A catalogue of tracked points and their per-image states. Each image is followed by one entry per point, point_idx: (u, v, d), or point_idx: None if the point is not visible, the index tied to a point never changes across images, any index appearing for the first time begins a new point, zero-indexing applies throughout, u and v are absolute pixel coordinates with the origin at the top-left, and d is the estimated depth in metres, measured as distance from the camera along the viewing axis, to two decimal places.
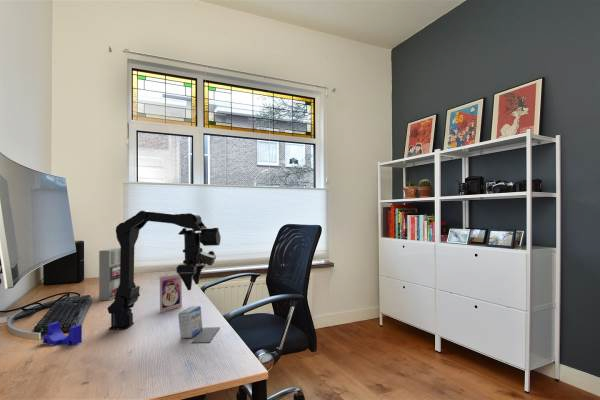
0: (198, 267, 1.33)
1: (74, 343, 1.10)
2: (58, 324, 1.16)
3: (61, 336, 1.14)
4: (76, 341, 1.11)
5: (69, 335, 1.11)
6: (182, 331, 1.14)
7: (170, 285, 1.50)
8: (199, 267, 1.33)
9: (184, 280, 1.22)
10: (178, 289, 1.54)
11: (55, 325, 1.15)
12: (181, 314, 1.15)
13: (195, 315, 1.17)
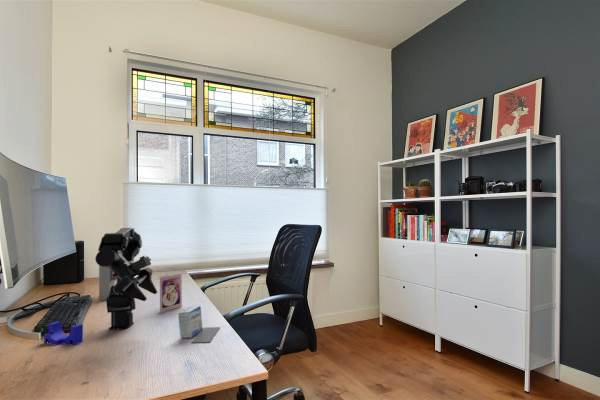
0: (145, 279, 1.23)
1: (75, 342, 1.11)
2: (59, 324, 1.16)
3: (62, 336, 1.14)
4: (77, 340, 1.12)
5: (70, 334, 1.11)
6: (182, 331, 1.14)
7: (170, 285, 1.50)
8: (146, 278, 1.23)
9: (133, 295, 1.13)
10: (178, 289, 1.54)
11: (56, 324, 1.15)
12: (181, 314, 1.15)
13: (195, 315, 1.17)
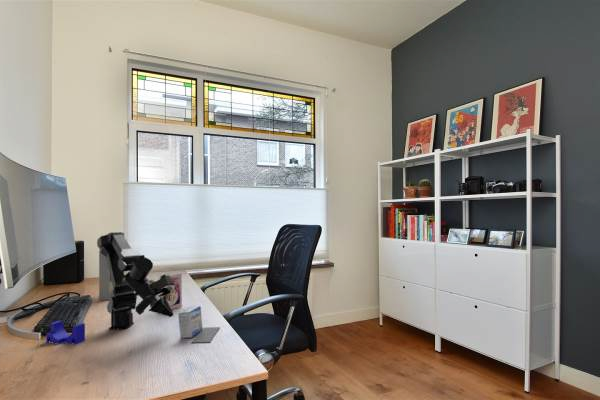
0: None
1: (77, 341, 1.12)
2: (61, 323, 1.17)
3: (64, 335, 1.15)
4: (79, 339, 1.12)
5: (72, 333, 1.12)
6: (182, 331, 1.14)
7: (170, 285, 1.50)
8: None
9: (160, 311, 1.16)
10: (178, 289, 1.54)
11: (58, 323, 1.16)
12: (181, 314, 1.15)
13: (195, 315, 1.17)
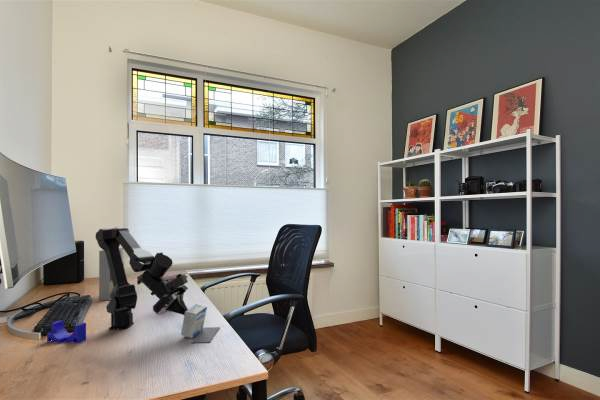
0: None
1: (79, 341, 1.12)
2: (62, 323, 1.18)
3: (65, 334, 1.16)
4: (81, 339, 1.13)
5: (74, 333, 1.13)
6: (184, 330, 1.14)
7: None
8: None
9: (176, 311, 1.16)
10: None
11: (59, 323, 1.17)
12: (187, 313, 1.14)
13: (200, 316, 1.17)
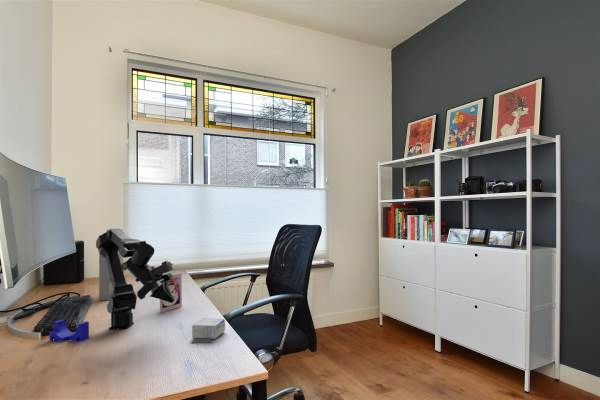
0: None
1: (82, 339, 1.14)
2: (64, 322, 1.19)
3: (67, 333, 1.17)
4: (84, 337, 1.14)
5: (77, 332, 1.14)
6: (197, 328, 1.13)
7: (170, 285, 1.50)
8: None
9: (161, 297, 1.17)
10: (178, 289, 1.54)
11: (61, 322, 1.18)
12: (213, 329, 1.12)
13: None
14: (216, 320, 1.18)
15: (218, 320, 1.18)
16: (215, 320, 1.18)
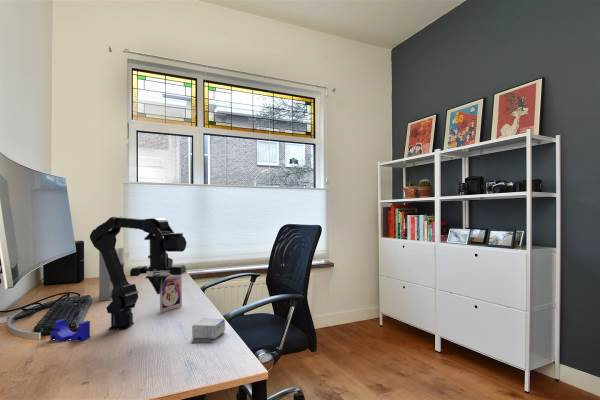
0: (157, 276, 1.25)
1: (83, 339, 1.14)
2: (64, 321, 1.19)
3: (68, 333, 1.17)
4: (85, 337, 1.15)
5: (78, 331, 1.14)
6: (197, 328, 1.13)
7: (170, 285, 1.50)
8: (158, 276, 1.25)
9: (161, 284, 1.23)
10: (178, 289, 1.54)
11: (62, 322, 1.18)
12: (213, 329, 1.12)
13: None
14: (216, 320, 1.18)
15: (218, 320, 1.18)
16: (215, 320, 1.18)
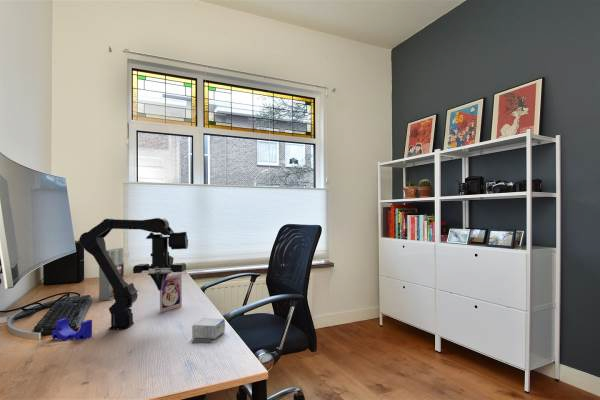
0: (159, 273, 1.31)
1: (85, 337, 1.15)
2: (66, 320, 1.20)
3: (70, 332, 1.18)
4: (87, 335, 1.16)
5: (80, 330, 1.16)
6: (197, 328, 1.13)
7: (170, 285, 1.50)
8: (159, 273, 1.31)
9: (162, 280, 1.29)
10: (178, 289, 1.54)
11: (63, 321, 1.19)
12: (213, 329, 1.12)
13: None
14: (216, 320, 1.18)
15: (218, 320, 1.18)
16: (215, 320, 1.18)
